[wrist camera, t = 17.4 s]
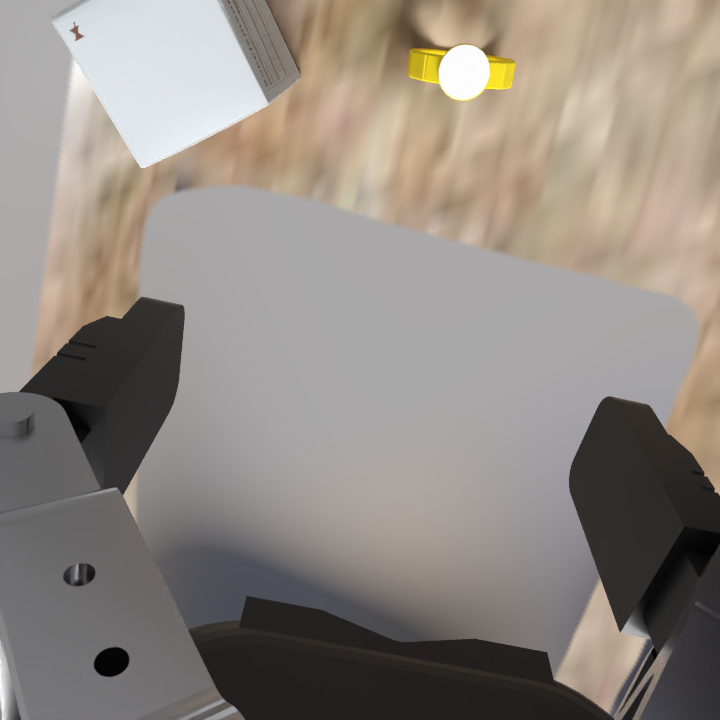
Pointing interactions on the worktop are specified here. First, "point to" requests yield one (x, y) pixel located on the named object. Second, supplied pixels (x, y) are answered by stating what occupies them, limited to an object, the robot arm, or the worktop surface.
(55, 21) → the supplement box
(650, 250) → the worktop surface
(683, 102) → the worktop surface
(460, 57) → the watch
